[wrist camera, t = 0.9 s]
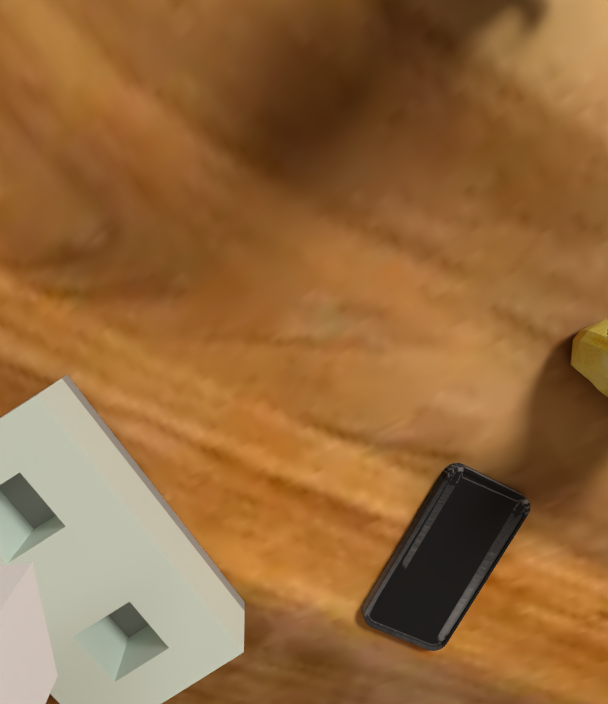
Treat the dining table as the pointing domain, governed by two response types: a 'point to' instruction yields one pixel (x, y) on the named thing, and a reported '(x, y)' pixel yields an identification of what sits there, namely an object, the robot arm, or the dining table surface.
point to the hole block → (108, 559)
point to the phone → (445, 557)
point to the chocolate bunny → (592, 354)
